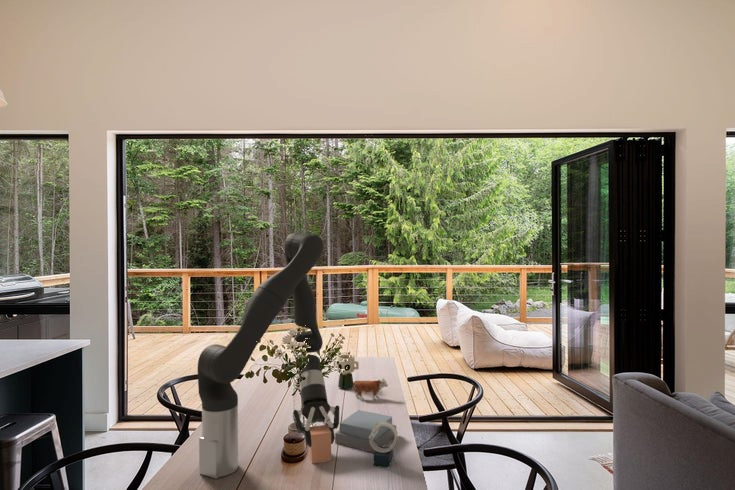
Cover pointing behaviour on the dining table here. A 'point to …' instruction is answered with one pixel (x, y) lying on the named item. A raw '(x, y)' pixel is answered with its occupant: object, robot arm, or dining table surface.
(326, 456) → the terracotta brick
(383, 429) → the two-tier stepped box
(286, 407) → the dining table surface
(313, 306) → the robot arm
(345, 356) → the character mug
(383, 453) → the grey ring on block
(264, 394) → the dining table surface
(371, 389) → the bull figurine
